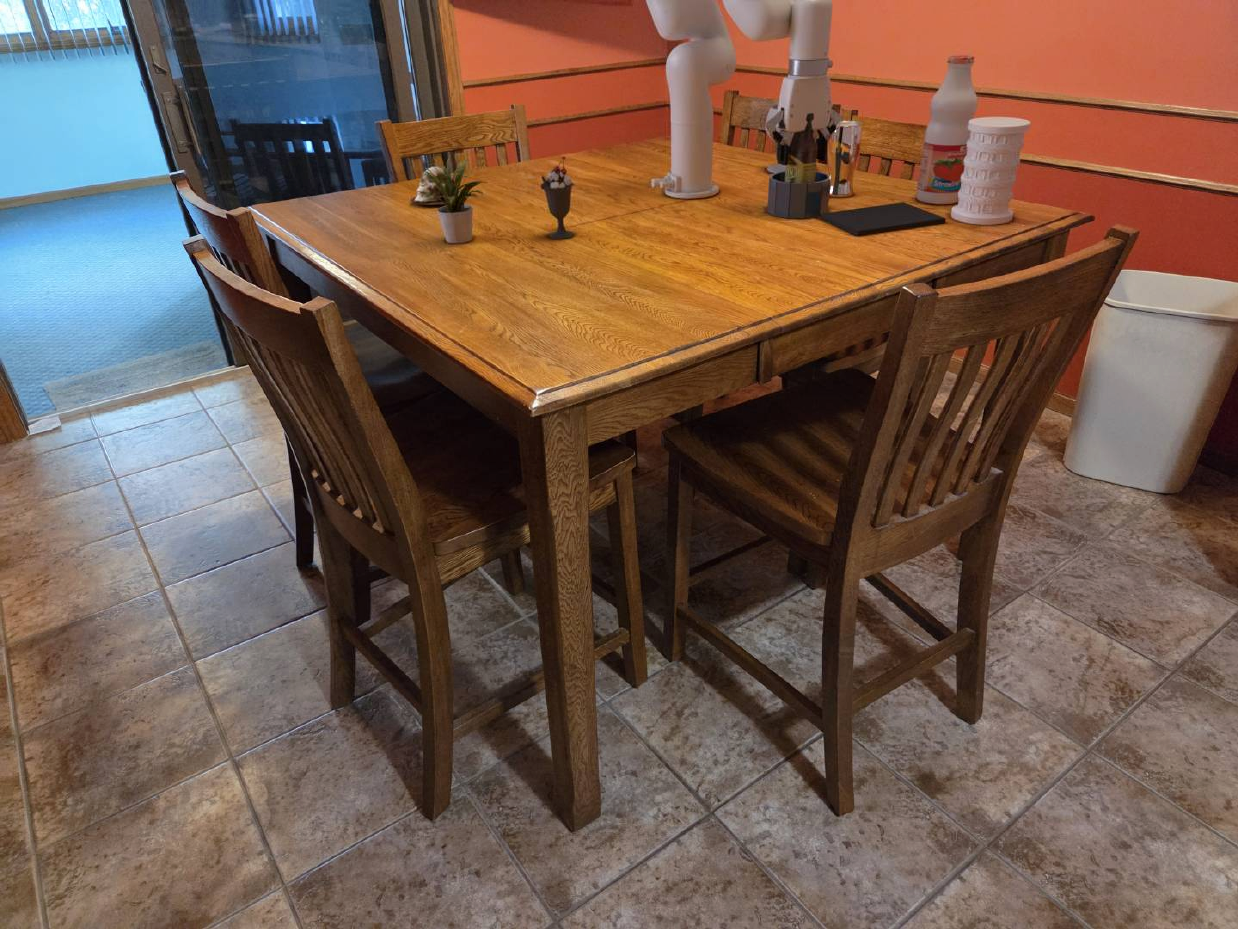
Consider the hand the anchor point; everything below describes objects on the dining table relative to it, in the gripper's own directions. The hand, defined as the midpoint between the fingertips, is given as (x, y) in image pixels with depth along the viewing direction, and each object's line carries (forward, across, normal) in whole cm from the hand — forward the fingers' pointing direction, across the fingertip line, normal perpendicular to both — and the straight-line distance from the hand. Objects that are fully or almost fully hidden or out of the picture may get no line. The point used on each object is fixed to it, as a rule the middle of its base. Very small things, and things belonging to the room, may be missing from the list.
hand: (801, 161), depth 169 cm
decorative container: (+10, -30, +21) cm, 38 cm away
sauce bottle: (+10, 0, 0) cm, 10 cm away
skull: (+10, +71, -46) cm, 85 cm away
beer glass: (+10, -15, -8) cm, 20 cm away
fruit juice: (+10, -31, +6) cm, 33 cm away
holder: (+10, 0, 0) cm, 10 cm away
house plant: (+10, +72, -11) cm, 74 cm away
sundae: (+10, +51, -5) cm, 52 cm away
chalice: (+10, -17, -34) cm, 39 cm away
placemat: (+10, -11, +14) cm, 21 cm away
